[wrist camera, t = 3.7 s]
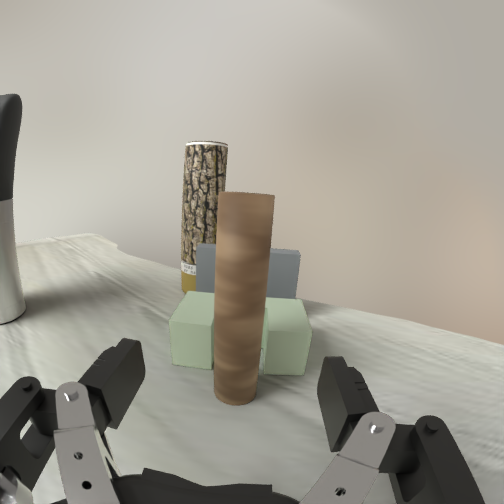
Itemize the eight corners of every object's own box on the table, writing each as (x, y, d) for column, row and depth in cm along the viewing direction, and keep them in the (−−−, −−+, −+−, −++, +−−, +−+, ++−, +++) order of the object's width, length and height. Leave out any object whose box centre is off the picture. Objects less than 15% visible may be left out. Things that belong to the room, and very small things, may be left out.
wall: (196, 313, 39) (196, 247, 36) (199, 306, 41) (200, 243, 39) (291, 321, 38) (300, 254, 36) (290, 313, 41) (298, 250, 38)
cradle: (172, 364, 26) (168, 320, 25) (189, 328, 34) (188, 290, 33) (303, 375, 26) (312, 332, 25) (295, 337, 34) (301, 299, 33)
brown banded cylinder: (211, 402, 22) (214, 192, 17) (217, 376, 25) (222, 191, 21) (255, 406, 21) (276, 196, 17) (256, 379, 25) (273, 194, 21)
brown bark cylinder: (227, 295, 46) (236, 144, 40) (192, 302, 42) (197, 139, 36) (208, 282, 51) (214, 148, 45) (175, 288, 47) (179, 144, 41)
